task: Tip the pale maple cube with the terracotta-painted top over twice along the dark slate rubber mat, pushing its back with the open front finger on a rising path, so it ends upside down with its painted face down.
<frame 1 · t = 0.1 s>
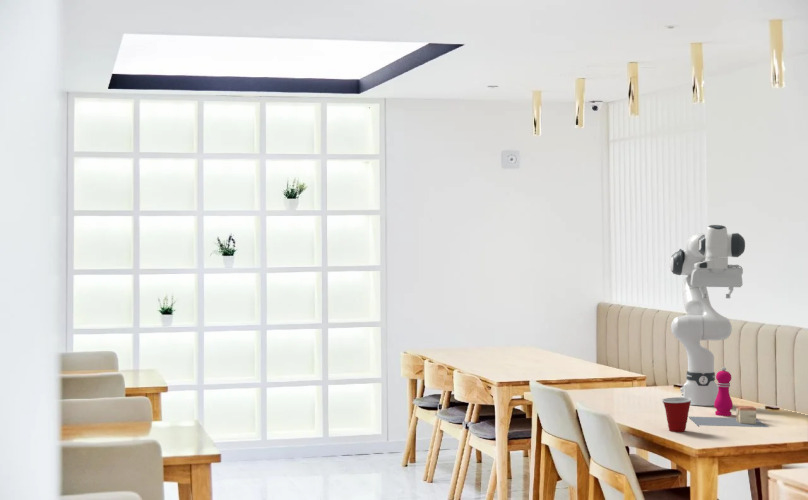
hand: (716, 298, 393), 48 cm above the table, tool pointing down, fingers open, 8 cm apart
pepper mill: (723, 416, 391), on the table
slate mat: (727, 422, 375), on the table
plastic cup: (676, 431, 356), on the table
maple cube: (746, 422, 374), resting on slate mat
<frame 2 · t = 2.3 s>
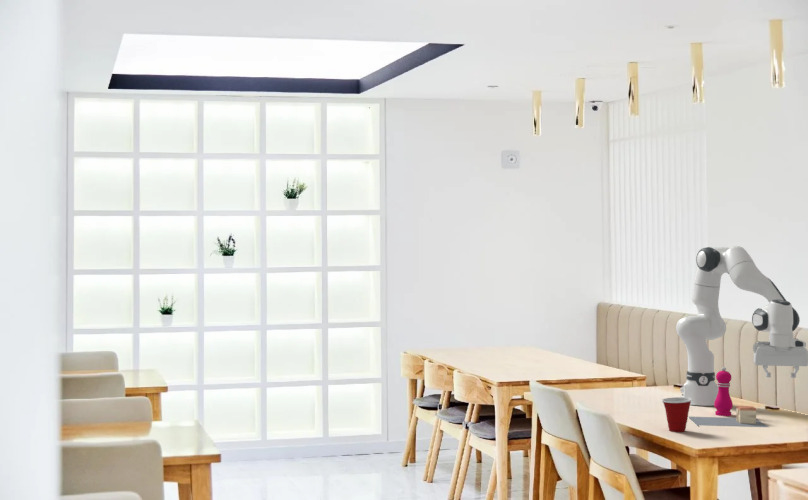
hand: (780, 377, 372), 18 cm above the table, tool pointing down, fingers open, 8 cm apart
nothing on the table moved.
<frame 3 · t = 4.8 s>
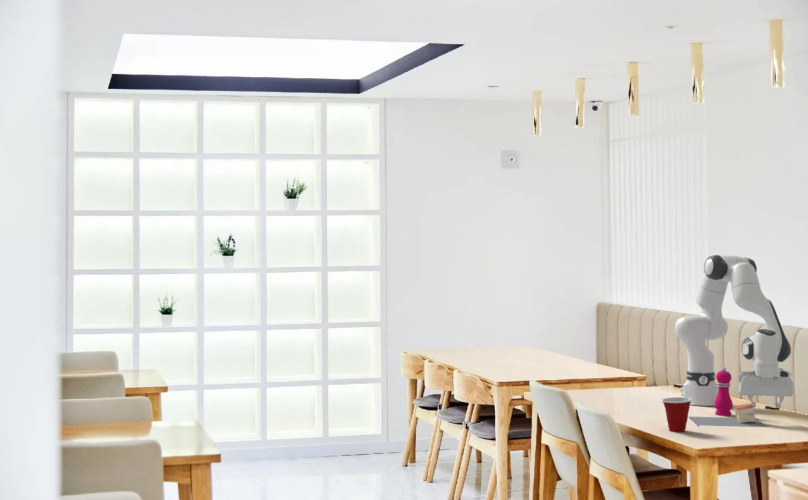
hand: (765, 407, 373), 7 cm above the table, tool pointing down, fingers open, 8 cm apart
maple cube: (746, 420, 374), point 1 cm above the table, tilted 11°, touching gripper, slate mat
everything else where it was.
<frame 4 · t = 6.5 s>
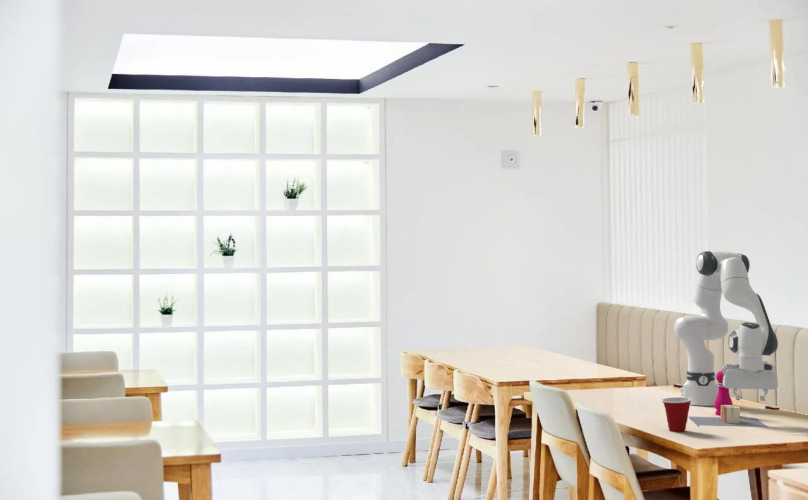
hand: (749, 400, 374), 9 cm above the table, tool pointing down, fingers open, 8 cm apart
maple cube: (738, 414, 374), point 3 cm above the table, tilted 90°, touching slate mat
everything else where it was.
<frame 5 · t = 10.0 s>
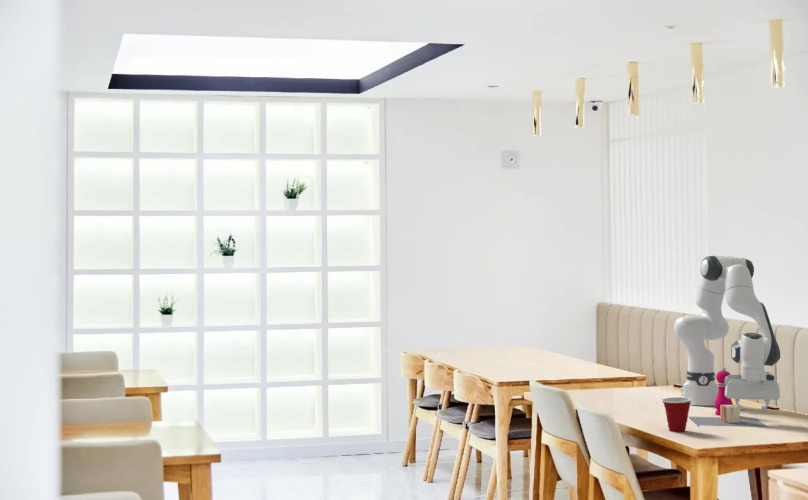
hand: (752, 410, 374), 5 cm above the table, tool pointing down, fingers open, 8 cm apart
maple cube: (738, 413, 374), point 4 cm above the table, tilted 92°, touching gripper, slate mat
everything else where it was.
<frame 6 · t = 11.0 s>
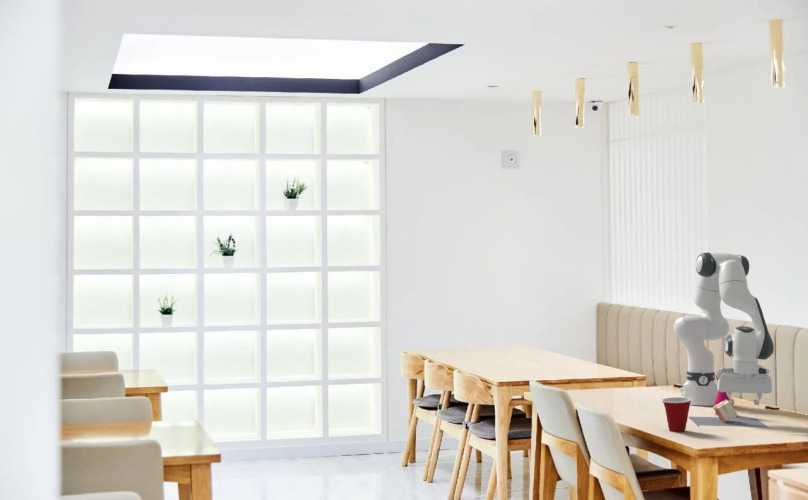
hand: (744, 404, 374), 7 cm above the table, tool pointing down, fingers open, 8 cm apart
maple cube: (731, 407, 374), point 6 cm above the table, tilted 121°, touching gripper, slate mat
everything else where it was.
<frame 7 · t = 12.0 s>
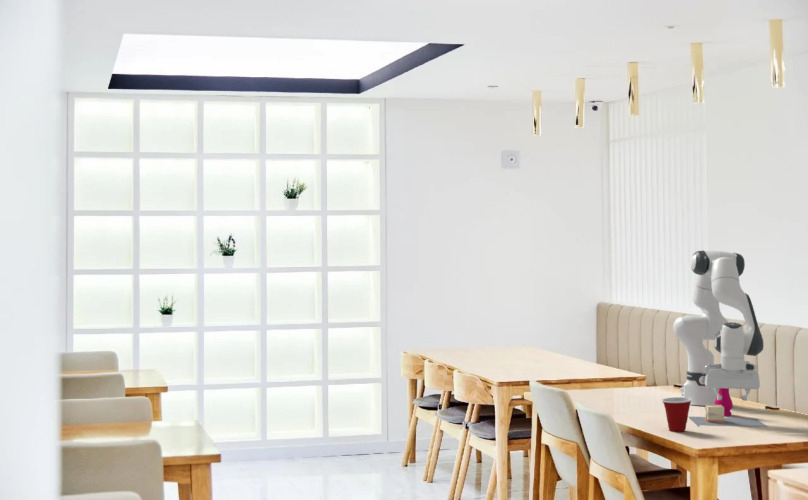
hand: (732, 400, 375), 9 cm above the table, tool pointing down, fingers open, 8 cm apart
maple cube: (714, 405, 375), point 6 cm above the table, tilted 180°, touching slate mat
everything else where it was.
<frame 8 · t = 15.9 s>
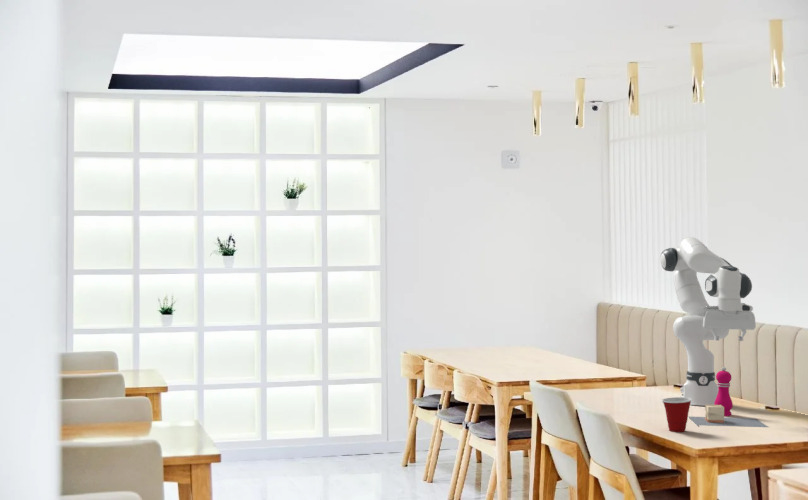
hand: (728, 340, 387), 31 cm above the table, tool pointing down, fingers open, 8 cm apart
nothing on the table moved.
at the end: maple cube tilted 180°; maple cube inside the target area (0.5 cm from its centre), point 6.5 cm above the table; maple cube touching slate mat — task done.
